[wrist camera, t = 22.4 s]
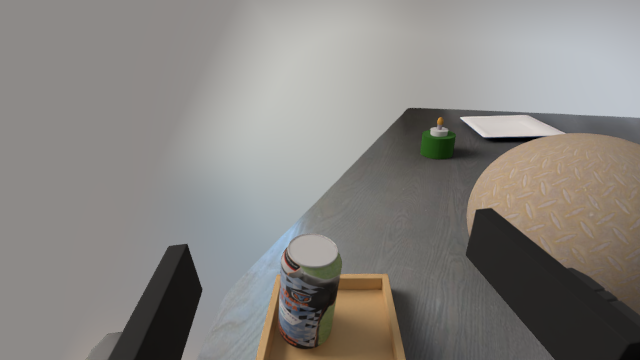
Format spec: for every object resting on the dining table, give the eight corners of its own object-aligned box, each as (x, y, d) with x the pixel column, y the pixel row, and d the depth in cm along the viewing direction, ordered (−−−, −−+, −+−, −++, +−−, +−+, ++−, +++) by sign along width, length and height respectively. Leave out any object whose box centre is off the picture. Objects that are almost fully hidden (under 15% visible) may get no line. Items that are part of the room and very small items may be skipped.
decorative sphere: (487, 355, 30) (542, 184, 21) (440, 235, 47) (459, 115, 38) (717, 375, 27) (895, 186, 18) (576, 239, 44) (630, 110, 36)
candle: (426, 146, 84) (430, 112, 80) (456, 151, 79) (462, 115, 75) (415, 155, 79) (419, 119, 74) (447, 161, 74) (452, 123, 69)
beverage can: (276, 315, 35) (261, 236, 30) (333, 299, 37) (329, 221, 31) (285, 366, 29) (268, 279, 24) (352, 344, 31) (350, 258, 26)
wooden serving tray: (253, 400, 27) (249, 384, 26) (279, 288, 39) (276, 274, 38) (409, 404, 26) (412, 388, 25) (386, 288, 38) (387, 273, 37)
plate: (567, 141, 81) (569, 134, 80) (482, 143, 84) (483, 136, 83) (526, 120, 100) (527, 114, 100) (458, 122, 104) (459, 116, 103)
